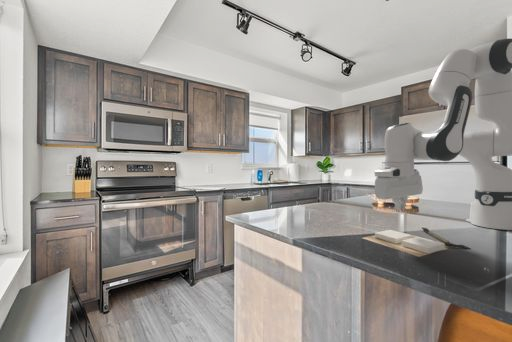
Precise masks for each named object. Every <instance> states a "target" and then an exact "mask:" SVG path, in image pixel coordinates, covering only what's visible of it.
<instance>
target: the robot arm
mask: <svg viewBox="0 0 512 342" xmlns="http://www.w3.org/2000/svg"><path fill="white" fill-rule="evenodd" d="M474 79H475V84H474V113H475V115H476V117H477V118H479V119H481V120H484V121H487V122H491V123H494V124H495V125H496V127H495V128H488V129H479V130H478V129H477V130H471V131H466V132H465V130H466V126H467V122H468V119H469V118H468V117H469V115H470V111H471V106H472V102H473V92H472V90H471V89H470V88H469V86H470V84H471V82H472V80H474ZM428 95H429V98H430V99H431V100H432V101H433V102H435V103H436V104H438V105H441V106H444V107H447V108H446V111H445V115H444V118H443V123H442V124H441V126H440V127H438V128H437V129H434V130H431V131H430V130H429V131H421V130H419V129H417V128H415V127H413V126H412V123H411V122H403V123H399V124H394V125H391V126H388V128H386V130H385V133H384V152H385V160H384V165H383V166H381V167H380V168H378V169H376V170H375V171H374V177H376V178H375V180H374V196H375V197H376V199H379V200H384V201H385V200H391V201H392V202H393V205H394V209H395V210H396V211H402V210H406V204H407V201H408V200H409V199H408V197H411V196H417V195H421V194H422V193H423V190H424V189H423V187H424V186H423V179H422V176H421V174H420V171H419V170H418V169H417V168H415V160H419V161H420V160H421V161H422V160H423V161H439V162H440V161H442V162H449V161H452V160H454V159H455V158H458V156H460V157H462V158H463V159H465V160H467V161H468V162H469V163H470V165H471V166H472V168H473V170H474V174H475V188H476V189H475V190H474V201H472V202H471V203H470V212H469V218H466V220H465V221H466V222H468V223H470V224H472V225H474V226H478V227H482V228H487V229H495V230H506V231H512V169H511V168H509V167H508V166H505V165H502V164H500V163H497V162H494V161H493V157H507V156H509V157H510V156H512V38H501V39H497V40H496V41H492V42H487V43H484V44H480V45H477V46H475V47H472V48H470V49H466V48H461V49H456V50H453V51H451V52H450V53H448V54H447V55H446V57H444V59H443V60H442V62H441V63H440V64H439V66H438V68H437V69H436V71H435V73H434V76H433V77H432V79H431V82H430V85H429V87H428Z"/></svg>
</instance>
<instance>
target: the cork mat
mask: <svg viewBox="0 0 512 342" xmlns="http://www.w3.org/2000/svg"><path fill="white" fill-rule="evenodd" d="M396 231H397V230H396ZM397 232H399V231H397ZM400 232H401V231H400ZM401 233H403V232H401ZM404 233H405V232H404ZM405 234H407V233H405ZM408 234H409V233H408ZM409 235H412V234H409ZM415 237H419V236H418V235H414V234H413V235H412V238H415ZM420 237H421V236H420ZM421 238H423V237H421ZM362 239H363V240H367V241H369V242H372V243H375V244H378V245H381V246H385V247H387V248H390V249H394V250H397V251H399V252H400V251H401V252H403V253H406V254H409V255H411V256H415V257H418V258H420V257H424V256H427V255H430V254H434V253H438V252H442V251H445V250H448V249H452V248H454V247H453V246H445V249H443V250H439V251H436V252H432V253H429V254H428V253H424V252H421V251H418V250H415V249H411V248H408V247H405V246H402V242H401V243H397V244H395V243H392V242H389V241H385V240H382V239H379V238H376V237H375V234H374V235H369V236H364V237H362ZM425 239H428V240H430V239H429V238H426V237H425ZM431 240H432V241H434V240H433V239H431ZM435 241H436V242H438V241H437V240H435ZM439 242H440V243H442V242H441V241H439Z"/></svg>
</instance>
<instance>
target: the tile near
mask: <svg viewBox="0 0 512 342" xmlns="http://www.w3.org/2000/svg"><path fill="white" fill-rule="evenodd" d="M425 238H426V237H425ZM425 238H424V237H422V238H421V236H418V237H415V238H410V239H406V240H402V246H405V247H408V248H411V249H415V250H418V251H421V252H424V253H428V255H430V254H429V253H431V254H433V253H432V252H435V253H437V252H436V251H438V252H440V251H439V250H442V251H444V250H443V249H445V244H444V243H443V242H441V241H437V240H433V239H429V238H426V239H425ZM428 239H429V240H428ZM432 240H433V241H432ZM436 241H437V242H436ZM440 242H441V243H440ZM445 250H446V249H445Z"/></svg>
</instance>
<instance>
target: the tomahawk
mask: <svg viewBox="0 0 512 342" xmlns="http://www.w3.org/2000/svg"><path fill="white" fill-rule="evenodd" d="M421 230H423V232H424V233H426V234H428V235H429V236H430V237H432V238H434V239H436V240H438V241H439V242H441V243H444V244H445V246H453V247H452V248H459V249H460V248H461V249H468V250H471V249H472V248H471V247H469V246H466V245H464V244H455V243H453V242H450V241H449V240H447V239H445V238H443V237H441V236H440V235H438V234H436V233H434V232H432V231H431V232H430V230H429V229H428V228H426V227H421Z"/></svg>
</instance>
